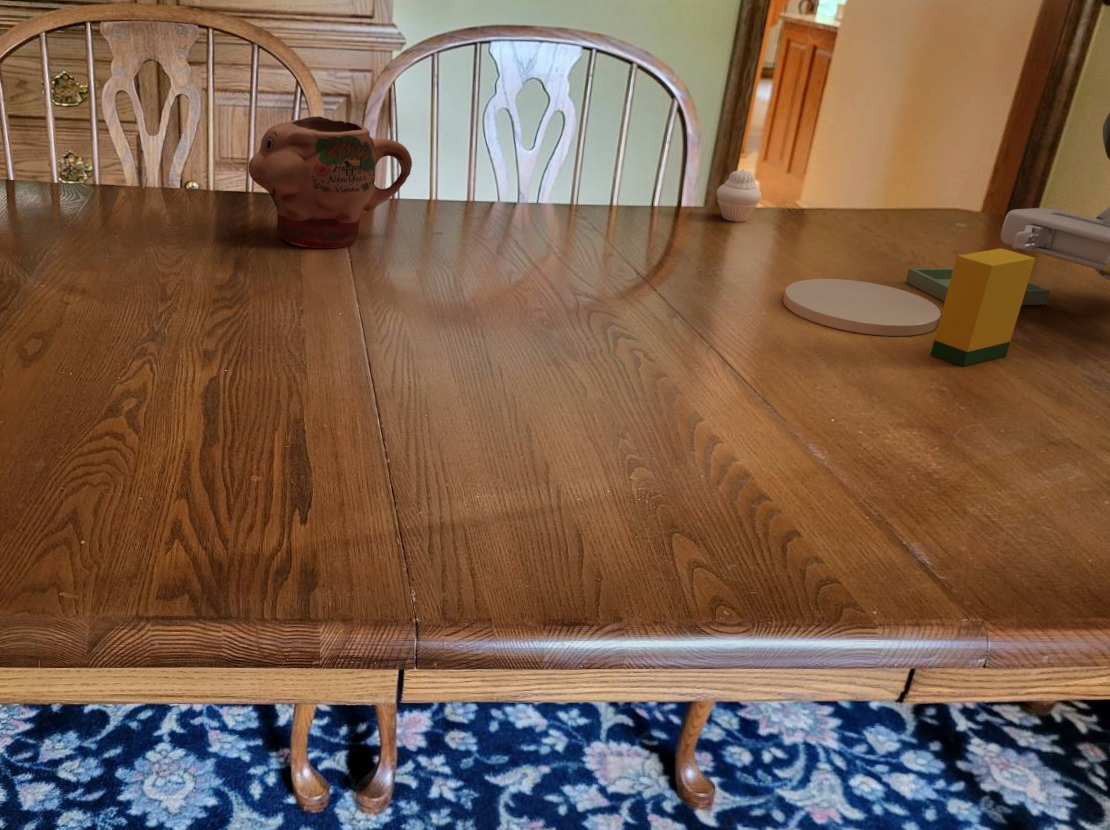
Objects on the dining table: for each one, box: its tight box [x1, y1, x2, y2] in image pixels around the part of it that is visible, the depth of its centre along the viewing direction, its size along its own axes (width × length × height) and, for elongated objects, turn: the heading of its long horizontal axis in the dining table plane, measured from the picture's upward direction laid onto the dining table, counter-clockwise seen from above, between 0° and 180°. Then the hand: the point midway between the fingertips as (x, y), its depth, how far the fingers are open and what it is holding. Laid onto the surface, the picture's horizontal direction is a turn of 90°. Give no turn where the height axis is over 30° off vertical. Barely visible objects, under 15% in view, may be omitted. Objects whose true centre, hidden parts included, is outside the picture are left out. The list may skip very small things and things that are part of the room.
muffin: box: [716, 168, 762, 223], centre depth 154 cm, size 6×6×7 cm
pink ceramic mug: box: [248, 115, 413, 249], centre depth 133 cm, size 20×12×14 cm, turn 112°
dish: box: [905, 267, 1051, 306], centre depth 128 cm, size 12×9×2 cm
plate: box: [782, 278, 942, 337], centre depth 120 cm, size 16×16×1 cm
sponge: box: [930, 248, 1036, 368], centre depth 106 cm, size 7×4×10 cm, turn 121°
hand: (1063, 254), depth 110 cm, fingers open, 8 cm apart
